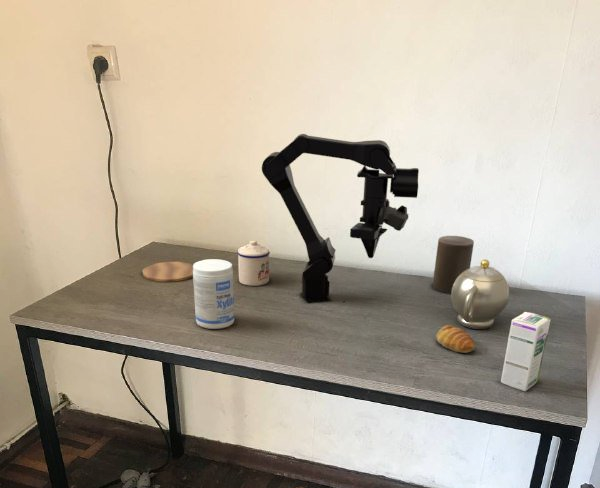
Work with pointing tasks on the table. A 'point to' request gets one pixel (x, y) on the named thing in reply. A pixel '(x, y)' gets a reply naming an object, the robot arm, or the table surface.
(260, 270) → the teacup with lid
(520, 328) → the syrup box
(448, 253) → the pillar candle
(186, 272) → the wooden trivet
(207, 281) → the supplement tub
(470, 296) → the teapot
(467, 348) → the pastry
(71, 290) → the table surface
